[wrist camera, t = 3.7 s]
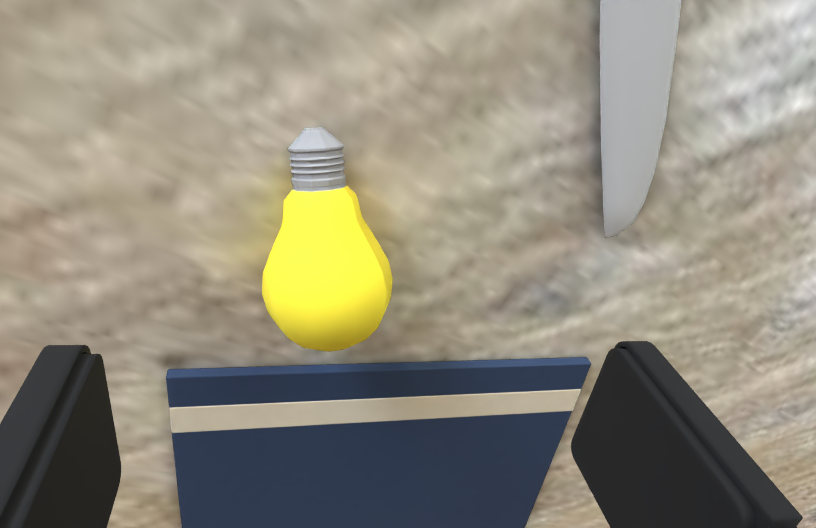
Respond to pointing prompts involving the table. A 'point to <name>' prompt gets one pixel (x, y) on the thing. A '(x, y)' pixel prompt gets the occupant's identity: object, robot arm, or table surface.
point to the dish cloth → (369, 442)
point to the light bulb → (324, 255)
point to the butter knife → (633, 100)
